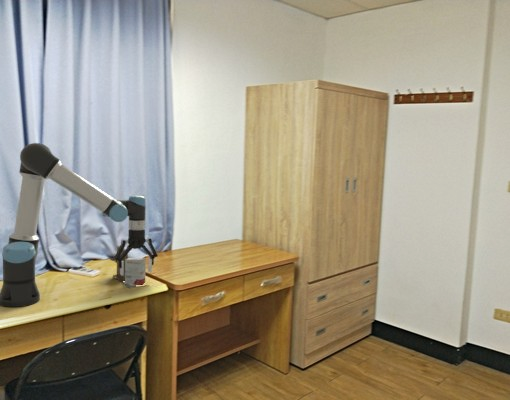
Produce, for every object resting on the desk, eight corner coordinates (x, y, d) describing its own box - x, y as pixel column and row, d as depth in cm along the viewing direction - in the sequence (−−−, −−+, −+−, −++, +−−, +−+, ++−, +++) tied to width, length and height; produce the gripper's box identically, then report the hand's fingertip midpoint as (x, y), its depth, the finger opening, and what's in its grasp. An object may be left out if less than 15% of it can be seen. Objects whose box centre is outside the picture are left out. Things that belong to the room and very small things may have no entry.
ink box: (145, 282, 222) (146, 258, 221) (142, 285, 217) (142, 260, 216) (128, 281, 223) (128, 257, 222) (124, 283, 218) (124, 259, 217)
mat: (128, 288, 213) (128, 287, 213) (122, 282, 222) (122, 281, 222) (149, 285, 219) (149, 284, 219) (142, 280, 227) (142, 279, 227)
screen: (120, 282, 222) (121, 251, 221) (113, 276, 232) (113, 246, 231) (127, 281, 224) (127, 250, 222) (119, 275, 234) (120, 246, 232)
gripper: (112, 231, 208) (111, 278, 210) (165, 228, 221) (164, 272, 223) (107, 228, 214) (107, 274, 216) (159, 226, 227) (158, 268, 230)
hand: (136, 273), depth 220 cm, fingers open, 13 cm apart
